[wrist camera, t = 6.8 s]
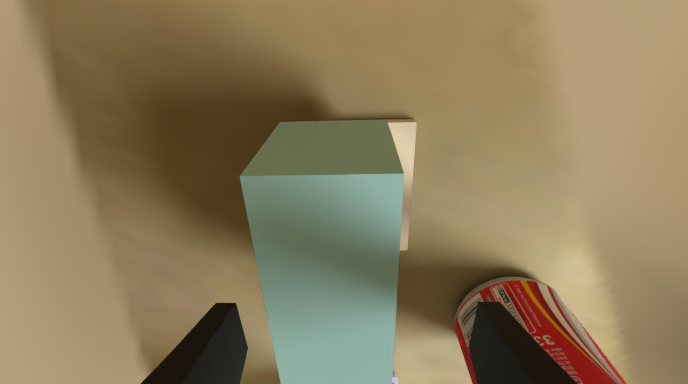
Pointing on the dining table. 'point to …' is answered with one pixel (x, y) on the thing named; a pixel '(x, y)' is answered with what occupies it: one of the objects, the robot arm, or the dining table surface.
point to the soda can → (539, 327)
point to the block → (328, 247)
